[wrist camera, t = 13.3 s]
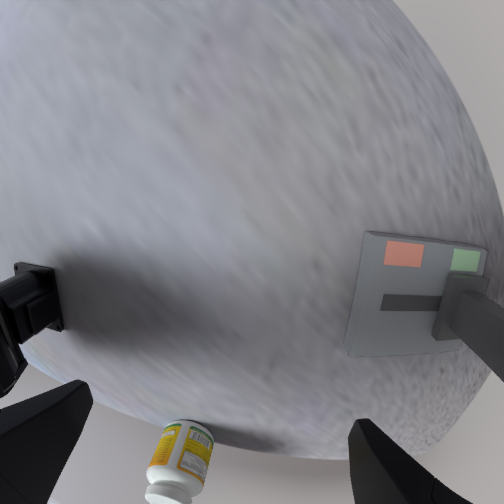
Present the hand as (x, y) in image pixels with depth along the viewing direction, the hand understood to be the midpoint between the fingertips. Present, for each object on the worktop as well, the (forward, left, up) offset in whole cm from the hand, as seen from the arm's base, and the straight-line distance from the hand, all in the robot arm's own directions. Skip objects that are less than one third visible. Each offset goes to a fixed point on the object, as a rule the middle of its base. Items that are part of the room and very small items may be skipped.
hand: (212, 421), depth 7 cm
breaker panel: (+13, 0, -13) cm, 19 cm away
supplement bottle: (-5, -18, -13) cm, 23 cm away
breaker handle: (+16, 0, -11) cm, 20 cm away
